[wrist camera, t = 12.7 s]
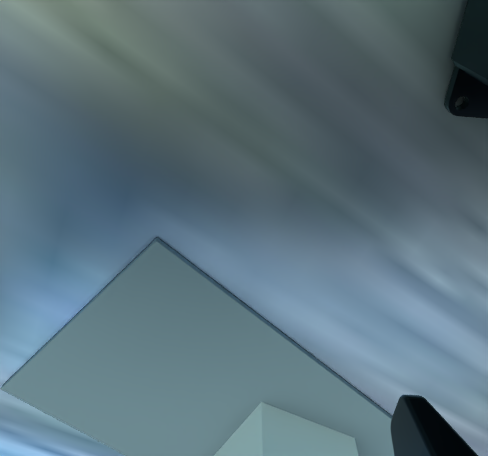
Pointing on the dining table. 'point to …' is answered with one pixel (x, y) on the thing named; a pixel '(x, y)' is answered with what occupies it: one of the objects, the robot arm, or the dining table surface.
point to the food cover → (285, 437)
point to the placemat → (183, 368)
